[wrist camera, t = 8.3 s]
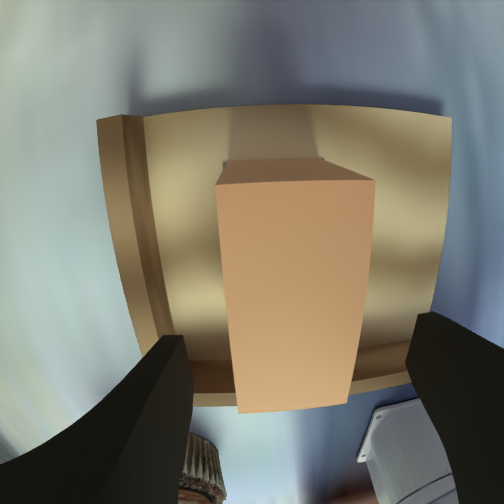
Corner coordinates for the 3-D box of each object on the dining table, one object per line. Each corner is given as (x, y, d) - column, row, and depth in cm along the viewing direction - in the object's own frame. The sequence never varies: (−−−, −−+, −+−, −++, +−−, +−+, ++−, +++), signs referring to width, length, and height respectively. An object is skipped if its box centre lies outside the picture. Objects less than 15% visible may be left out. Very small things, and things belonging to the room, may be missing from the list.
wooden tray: (413, 342, 21) (436, 375, 17) (170, 364, 21) (159, 405, 17) (442, 117, 15) (483, 119, 11) (128, 121, 15) (96, 119, 11)
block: (319, 158, 15) (375, 180, 8) (315, 315, 18) (346, 403, 12) (227, 161, 15) (215, 184, 8) (239, 320, 18) (238, 413, 12)
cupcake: (214, 478, 27) (211, 555, 18) (127, 457, 26) (109, 533, 17) (240, 437, 24) (242, 536, 15) (132, 410, 23) (104, 508, 14)
